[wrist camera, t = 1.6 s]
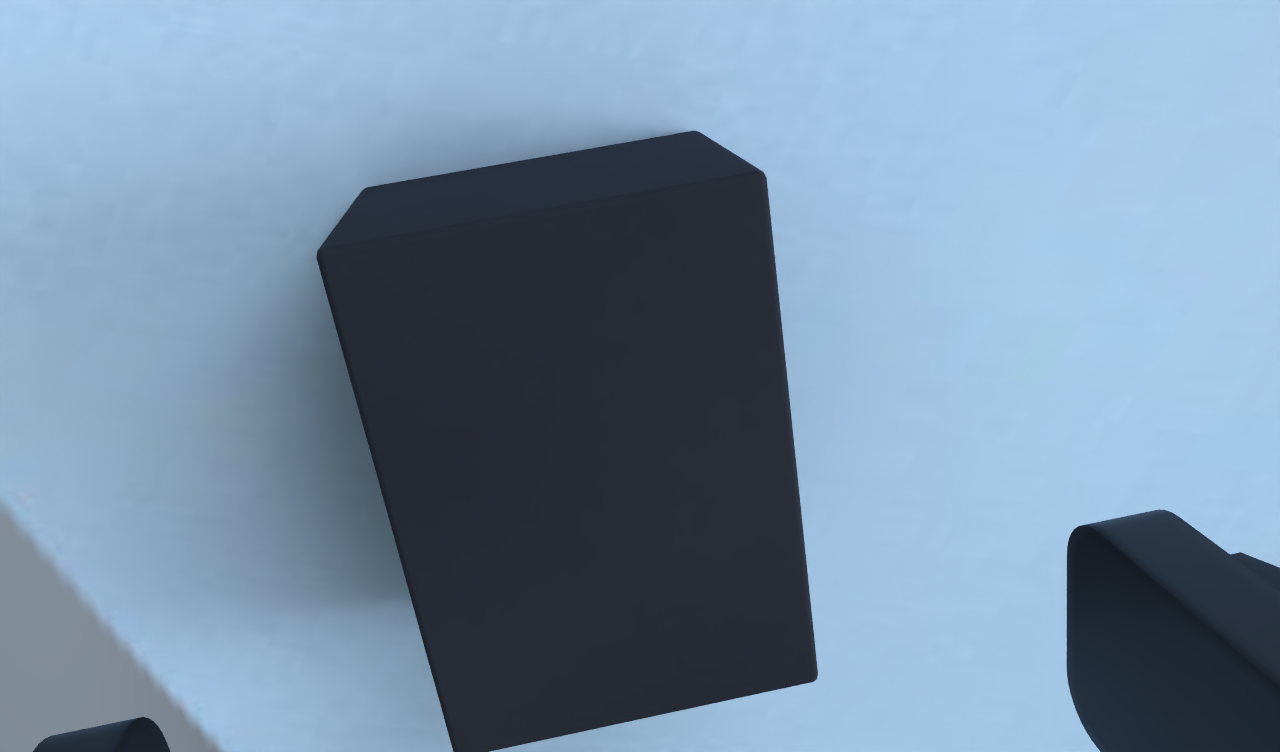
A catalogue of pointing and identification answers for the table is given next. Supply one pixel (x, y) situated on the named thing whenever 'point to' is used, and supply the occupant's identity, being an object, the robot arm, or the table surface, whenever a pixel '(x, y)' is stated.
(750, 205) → the black box
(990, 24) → the table surface
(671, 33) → the table surface
